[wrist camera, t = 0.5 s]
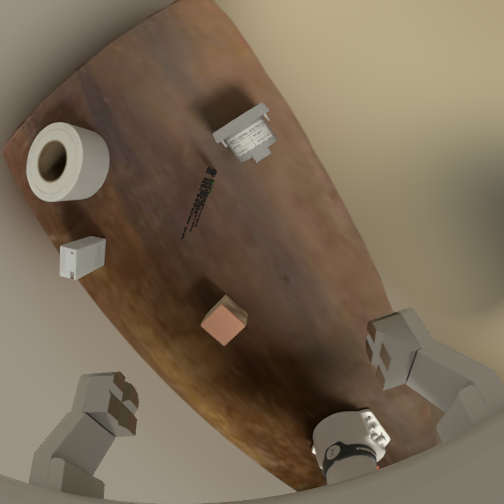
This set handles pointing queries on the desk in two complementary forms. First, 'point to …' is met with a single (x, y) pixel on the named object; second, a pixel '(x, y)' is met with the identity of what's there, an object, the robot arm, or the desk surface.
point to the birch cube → (225, 320)
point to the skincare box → (82, 257)
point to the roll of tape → (67, 163)
